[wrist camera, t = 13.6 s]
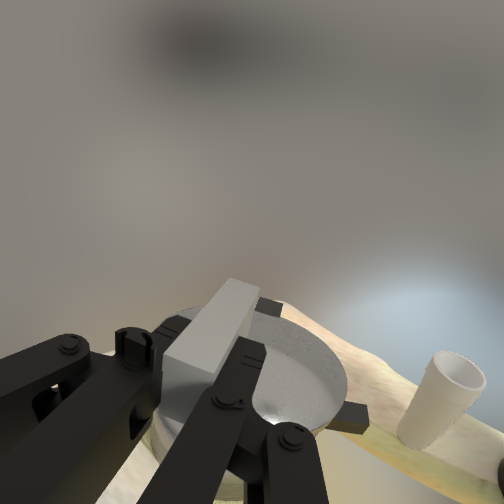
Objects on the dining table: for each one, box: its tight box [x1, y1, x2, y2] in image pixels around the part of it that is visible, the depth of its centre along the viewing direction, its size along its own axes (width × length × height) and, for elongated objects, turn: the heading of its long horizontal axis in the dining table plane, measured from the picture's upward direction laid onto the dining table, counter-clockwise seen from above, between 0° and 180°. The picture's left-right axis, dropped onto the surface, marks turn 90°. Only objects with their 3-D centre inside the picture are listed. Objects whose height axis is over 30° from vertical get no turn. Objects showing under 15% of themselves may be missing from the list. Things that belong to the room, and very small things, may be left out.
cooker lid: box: [157, 297, 347, 436], centre depth 27 cm, size 22×18×1 cm
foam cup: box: [397, 351, 487, 450], centre depth 31 cm, size 10×9×13 cm
